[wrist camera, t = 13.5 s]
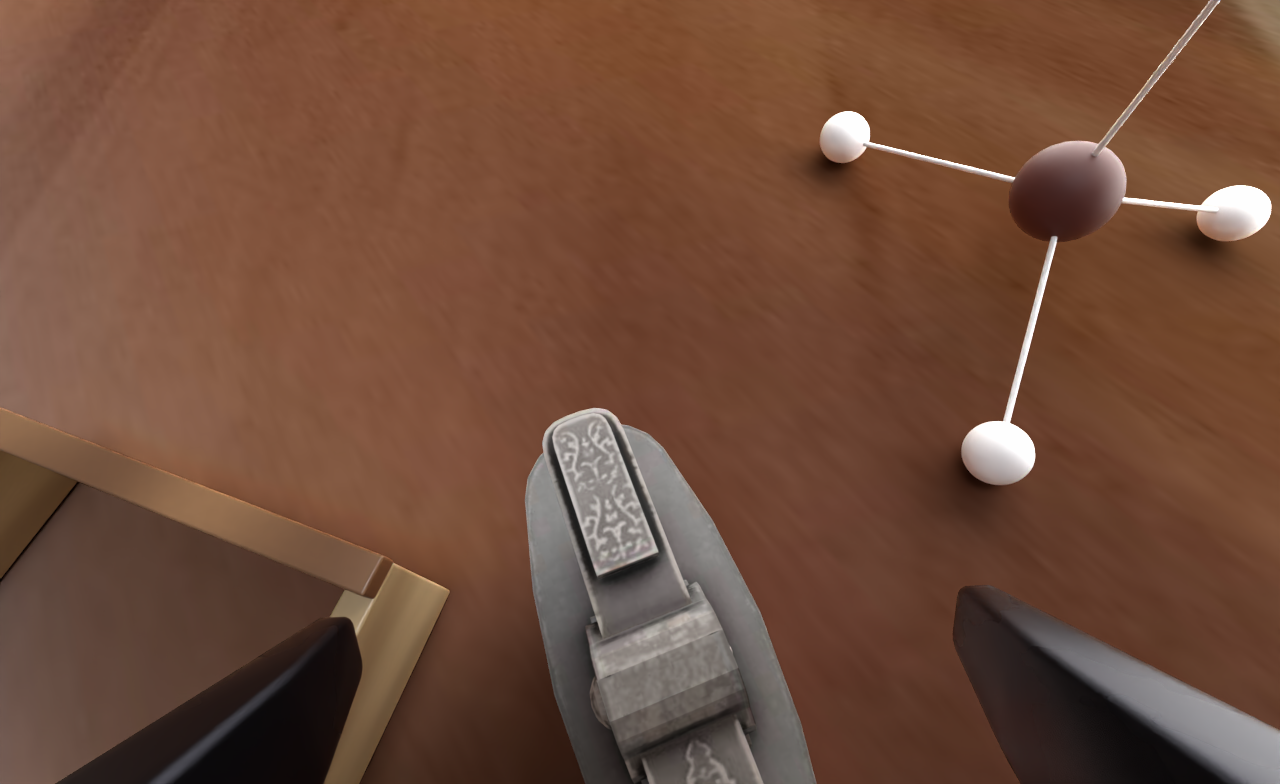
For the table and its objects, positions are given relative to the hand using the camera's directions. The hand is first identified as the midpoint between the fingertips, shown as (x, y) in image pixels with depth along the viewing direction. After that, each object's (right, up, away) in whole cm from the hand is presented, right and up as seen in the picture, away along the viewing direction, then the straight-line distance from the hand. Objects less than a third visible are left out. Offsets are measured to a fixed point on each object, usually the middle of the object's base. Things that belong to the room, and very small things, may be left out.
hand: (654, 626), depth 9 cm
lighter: (0, -4, +7) cm, 8 cm away
